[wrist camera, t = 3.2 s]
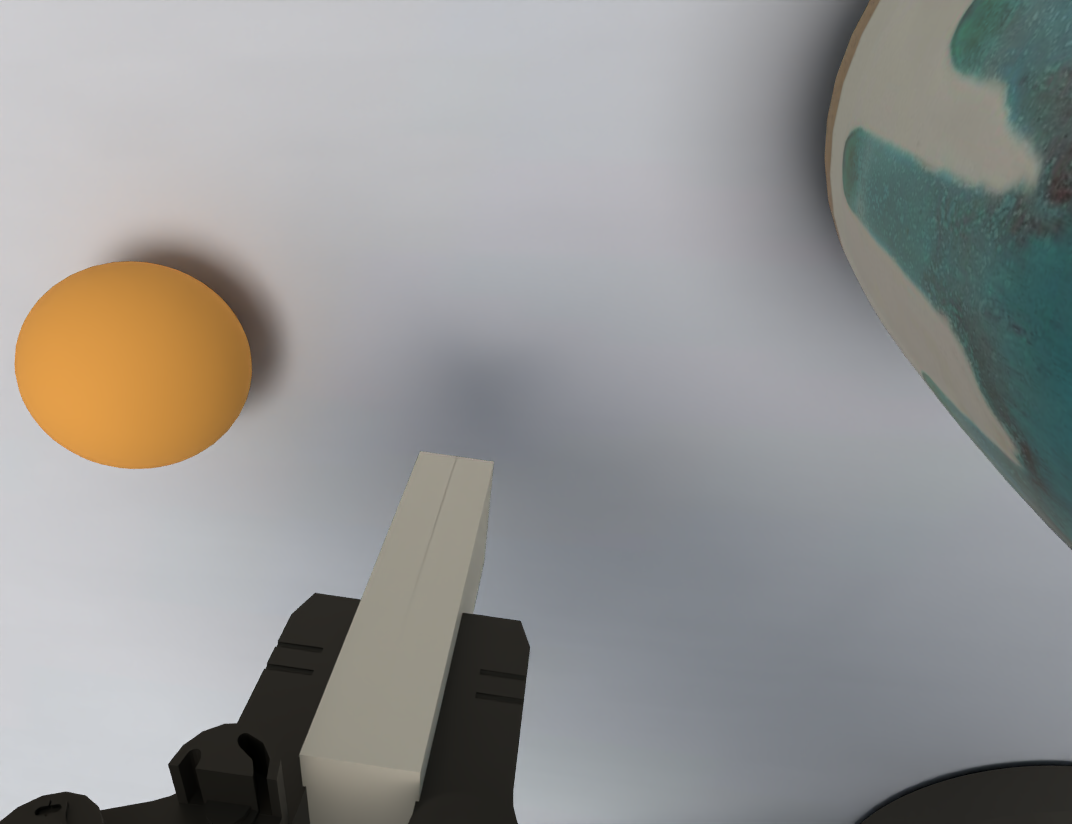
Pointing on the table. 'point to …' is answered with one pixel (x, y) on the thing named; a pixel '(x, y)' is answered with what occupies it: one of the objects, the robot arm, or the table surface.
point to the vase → (968, 216)
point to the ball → (133, 365)
